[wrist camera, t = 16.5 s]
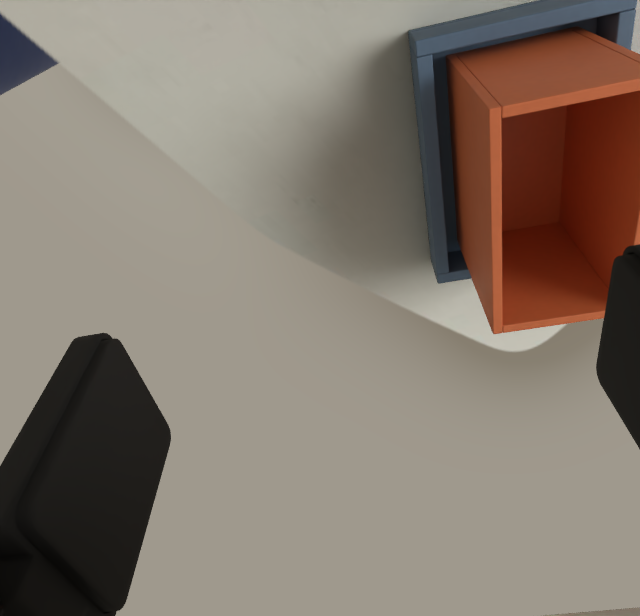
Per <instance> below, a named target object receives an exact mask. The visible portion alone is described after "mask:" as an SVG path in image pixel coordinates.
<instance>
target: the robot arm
mask: <svg viewBox="0 0 640 616" xmlns="http://www.w3.org/2000/svg"><path fill="white" fill-rule="evenodd" d="M596 369H597V376H598V379H599V382H600V384H601V386H602V387H603V389H604V391H605V392H606V394H607V396H608V397H609V399H610V400H611V402H612V404H613V405H614V407H615V409H616V411H617V412H618V414H619V415H620V417H621V419H622V420H623V422H624V424H625V425H626V427H627V429H628V430H629V432H630V434H631V435H632V437H633V439H634V440H635V442H636V444H637V445H638V447H639V449H640V244H638V245H632V246H628V247H627V248H626V249H625V250H624V252H623V255H622V256H617V257H616V258H615V259H614V262H613V266H612V272H611V278H610V285H609V291H608V297H607V303H606V309H605V315H604V321H603V328H602V334H601V341H600V346H599V352H598V358H597V366H596ZM170 441H171V434H170V428H169V426H168V424H167V422H166V420H165V419H164V417H163V415H162V413H161V411H160V410H159V408H158V406H157V404H156V403H155V401H154V399H153V397H152V396H151V394H150V392H149V390H148V389H147V387H146V385H145V383H144V382H143V380H142V378H141V377H140V375H139V373H138V371H137V369H136V368H135V366H134V364H133V362H132V361H131V359H130V357H129V355H128V354H127V352H126V350H125V348H124V347H123V345H122V343H121V342H120V341H119V340H118V339H112V337H111V336H110V335H108V334H107V333H100V334H94V335H88V336H82V337H78V338H75V339H74V340H73V341H72V343H71V344H70V346H69V348H68V350H67V351H66V353H65V355H64V356H63V358H62V360H61V362H60V363H59V365H58V367H57V369H56V370H55V372H54V374H53V376H52V377H51V379H50V381H49V382H48V384H47V386H46V388H45V390H44V391H43V393H42V395H41V396H40V398H39V400H38V402H37V403H36V405H35V407H34V408H33V410H32V412H31V414H30V415H29V417H28V419H27V421H26V422H25V424H24V426H23V428H22V430H21V432H20V433H19V435H18V436H17V438H16V440H15V442H14V443H13V445H12V447H11V448H10V450H9V452H8V454H7V455H6V457H5V459H4V461H3V462H2V464H1V466H0V616H115V615H116V611H118V610H120V609H121V608H123V606H124V604H125V602H126V599H127V596H128V592H129V589H130V585H131V582H132V578H133V575H134V571H135V568H136V564H137V561H138V557H139V553H140V550H141V546H142V542H143V539H144V535H145V532H146V528H147V525H148V521H149V518H150V514H151V510H152V507H153V503H154V500H155V496H156V492H157V489H158V485H159V482H160V478H161V475H162V471H163V467H164V464H165V460H166V457H167V453H168V449H169V446H170ZM545 616H640V608H629V609H616V610H605V611H592V612H580V613H569V614H557V615H545Z"/></svg>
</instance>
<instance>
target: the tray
mask: <svg viewBox="0 0 640 616" xmlns="http://www.w3.org/2000/svg"><path fill="white" fill-rule="evenodd" d="M636 5H637V0H539V1H534V2H530V3H526V4H521V5H517V6H513V7H508V8H504V9H500V10H495V11H491V12H487V13H482V14H478V15H474V16H469V17H465V18H461V19H456V20H452V21H448V22H443V23H439V24H435V25H430V26H426V27H422V28H418V29H413V30H409V31H408V35H409V45H410V55H411V65H412V75H413V85H414V95H415V105H416V115H417V125H418V135H419V145H420V155H421V165H422V174H423V184H424V194H425V204H426V214H427V224H428V234H429V244H430V254H431V262H432V265H433V268H434V272H435V275H436V279H437V282H438V283H445V282H452V281H458V280H464V279H470V278H471V275H470V272H469V270H468V267H467V265H466V262H465V259H464V257H463V254H462V252H461V249H460V246H459V244H458V241H457V228H456V212H455V196H454V181H453V165H452V149H451V134H450V118H449V103H448V87H447V71H446V55H450V54H454V53H459V52H463V51H468V50H472V49H477V48H481V47H486V46H490V45H495V44H499V43H504V42H508V41H513V40H517V39H522V38H526V37H531V36H535V35H540V34H544V33H549V32H553V31H558V30H562V29H567V28H571V27H576V26H578V27H580V28H583V29H585V30H587V31H589V32H591V33H594V34H596V35H598V36H600V37H602V38H605V39H607V40H609V41H611V42H613V43H616V44H618V45H620V46H622V47H624V48H627V49H629V50H631V44H632V36H633V28H634V21H635V13H636V10H635V8H636Z"/></svg>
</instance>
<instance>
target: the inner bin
mask: <svg viewBox="0 0 640 616" xmlns="http://www.w3.org/2000/svg"><path fill="white" fill-rule="evenodd" d="M446 71H447V87H448V103H449V118H450V134H451V149H452V165H453V181H454V196H455V212H456V228H457V241H458V244H459V246H460V249H461V252H462V254H463V257H464V259H465V262H466V265H467V267H468V270H469V272H470V275H471V278H472V280H473V283H474V285H475V288H476V291H477V293H478V296H479V298H480V301H481V304H482V306H483V309H484V311H485V314H486V317H487V319H488V322H489V324H490V327H491V330H492V332H493V334H498V333H502V332H503V333H505V332H512V331H519V330H525V329H532V328H539V327H546V326H553V325H560V324H567V323H573V322H580V321H587V320H594V319H601V318H604V315H605V309H606V303H607V297H608V291H609V285H610V278H611V272H612V266H613V262H614V259H615V258H616V257H617V256H622V255H623V252H624V250H625V249H626V248H627V247H628V246H632V245H638V244H640V54H638V53H635V52H633V51H631V50H629V49H627V48H624V47H622V46H620V45H618V44H616V43H613V42H611V41H609V40H607V39H605V38H602V37H600V36H598V35H596V34H594V33H591V32H589V31H587V30H585V29H583V28H580V27H578V26H576V27H571V28H567V29H562V30H558V31H553V32H549V33H544V34H540V35H535V36H531V37H526V38H522V39H517V40H513V41H508V42H504V43H499V44H495V45H490V46H486V47H481V48H477V49H472V50H468V51H463V52H459V53H454V54H450V55H446Z"/></svg>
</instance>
